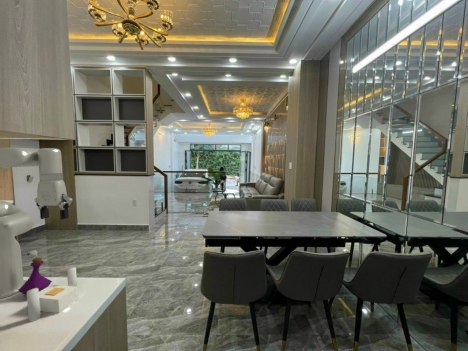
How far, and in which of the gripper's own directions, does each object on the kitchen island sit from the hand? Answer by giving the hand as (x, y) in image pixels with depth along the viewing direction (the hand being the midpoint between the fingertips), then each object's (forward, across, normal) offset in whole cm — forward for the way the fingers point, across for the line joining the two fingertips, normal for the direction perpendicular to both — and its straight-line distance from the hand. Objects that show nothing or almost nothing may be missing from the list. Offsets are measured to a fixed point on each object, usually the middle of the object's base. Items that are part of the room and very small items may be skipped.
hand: (54, 218), depth 92 cm
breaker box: (+30, +9, -10) cm, 33 cm away
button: (+29, +9, -10) cm, 32 cm away
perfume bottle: (+31, -6, -5) cm, 31 cm away
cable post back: (+30, +9, -2) cm, 32 cm away
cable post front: (+30, +9, -18) cm, 36 cm away
